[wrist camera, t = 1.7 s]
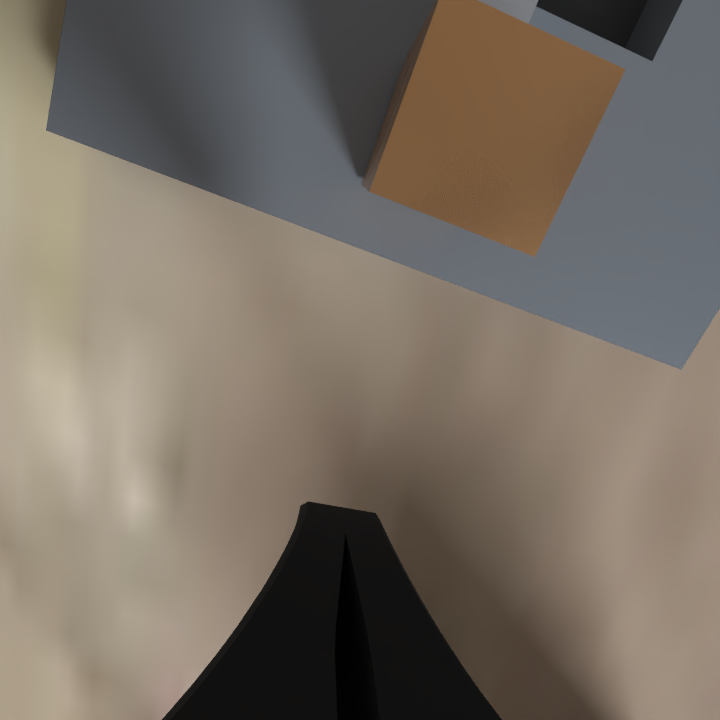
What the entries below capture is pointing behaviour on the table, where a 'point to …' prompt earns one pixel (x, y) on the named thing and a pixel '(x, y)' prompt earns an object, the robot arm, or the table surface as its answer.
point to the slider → (489, 121)
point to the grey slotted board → (365, 118)
